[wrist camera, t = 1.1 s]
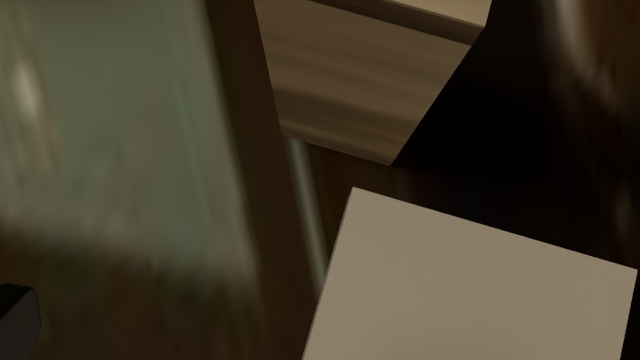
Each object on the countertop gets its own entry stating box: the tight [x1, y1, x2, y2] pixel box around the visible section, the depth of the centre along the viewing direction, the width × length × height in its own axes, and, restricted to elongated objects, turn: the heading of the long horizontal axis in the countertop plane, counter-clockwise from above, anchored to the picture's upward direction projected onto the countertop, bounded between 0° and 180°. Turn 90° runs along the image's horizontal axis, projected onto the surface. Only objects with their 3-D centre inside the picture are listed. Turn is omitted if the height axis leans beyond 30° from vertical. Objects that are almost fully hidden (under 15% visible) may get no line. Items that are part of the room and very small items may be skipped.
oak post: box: [254, 0, 491, 166], centre depth 17 cm, size 4×4×13 cm
